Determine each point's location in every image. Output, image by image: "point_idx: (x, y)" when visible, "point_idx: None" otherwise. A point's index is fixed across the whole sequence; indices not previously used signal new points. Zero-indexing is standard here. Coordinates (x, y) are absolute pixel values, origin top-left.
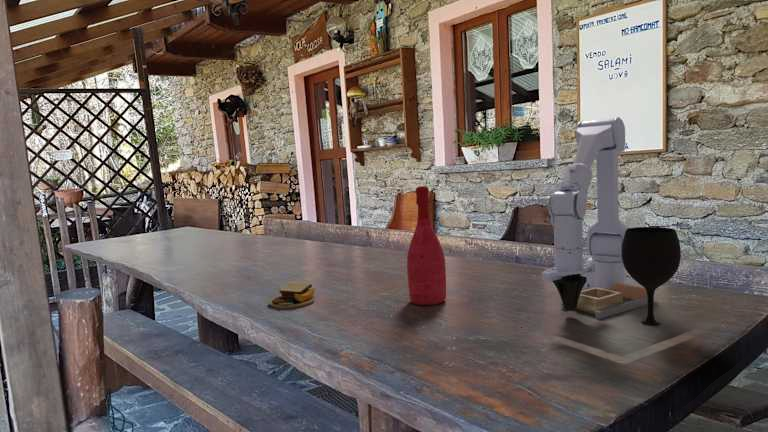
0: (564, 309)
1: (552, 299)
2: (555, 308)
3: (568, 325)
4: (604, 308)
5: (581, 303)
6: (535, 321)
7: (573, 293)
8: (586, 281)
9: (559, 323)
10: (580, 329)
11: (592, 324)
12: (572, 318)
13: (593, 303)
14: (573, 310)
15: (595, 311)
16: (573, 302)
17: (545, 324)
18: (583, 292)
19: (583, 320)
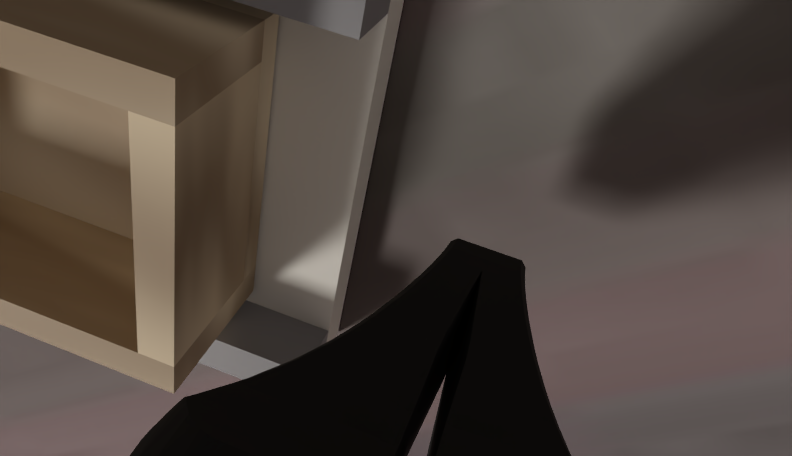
0: (326, 336)
1: (104, 441)
2: None
3: (631, 197)
4: (161, 2)
5: (222, 251)
6: (656, 444)
7: (517, 407)
8: (194, 400)
9: (610, 280)
10: (716, 50)
11: (468, 6)
12: (401, 228)
13: (213, 131)
14: (496, 253)
15: (358, 37)
16: (509, 312)
17: (704, 368)
18: (55, 314)
19: (397, 129)
